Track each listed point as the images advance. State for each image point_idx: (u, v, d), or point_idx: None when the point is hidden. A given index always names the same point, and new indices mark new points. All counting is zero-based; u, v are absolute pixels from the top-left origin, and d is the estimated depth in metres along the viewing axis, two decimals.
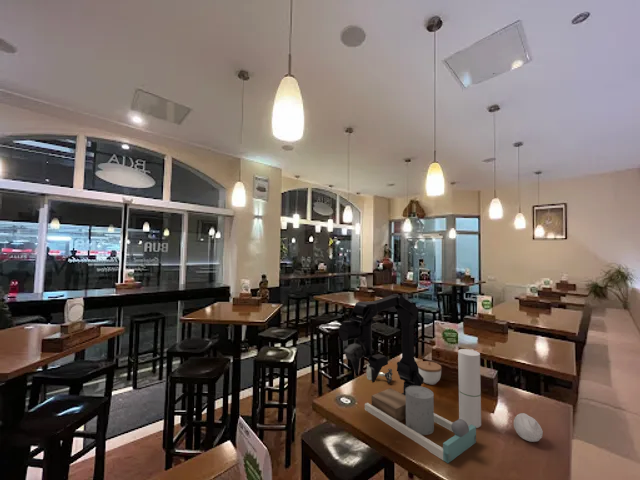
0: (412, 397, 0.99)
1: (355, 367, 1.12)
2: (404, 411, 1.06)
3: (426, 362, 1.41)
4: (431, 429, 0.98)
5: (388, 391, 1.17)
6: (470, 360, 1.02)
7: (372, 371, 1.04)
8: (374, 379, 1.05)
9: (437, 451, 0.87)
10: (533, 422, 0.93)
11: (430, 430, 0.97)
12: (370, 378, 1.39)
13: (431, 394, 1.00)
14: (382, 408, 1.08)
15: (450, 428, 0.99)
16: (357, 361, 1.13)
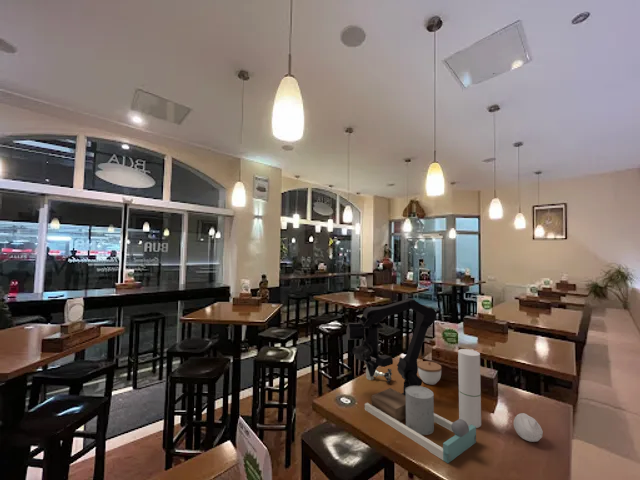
0: (412, 397, 0.99)
1: None
2: (404, 411, 1.06)
3: (426, 362, 1.41)
4: (431, 429, 0.98)
5: (388, 391, 1.17)
6: (470, 360, 1.02)
7: (371, 366, 1.19)
8: (372, 373, 1.20)
9: (437, 451, 0.87)
10: (533, 422, 0.93)
11: (430, 430, 0.97)
12: (369, 378, 1.39)
13: (431, 394, 1.00)
14: (382, 408, 1.08)
15: (450, 428, 0.99)
16: None
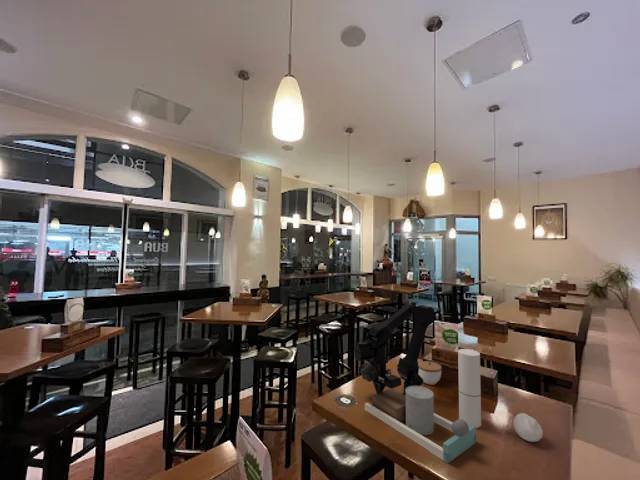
0: (412, 397, 0.99)
1: None
2: (405, 411, 1.06)
3: (426, 362, 1.41)
4: (431, 429, 0.98)
5: (389, 391, 1.17)
6: (470, 360, 1.02)
7: (378, 386, 1.16)
8: None
9: (437, 451, 0.87)
10: (533, 422, 0.93)
11: (430, 430, 0.97)
12: None
13: (431, 394, 1.00)
14: (383, 409, 1.08)
15: (450, 428, 0.99)
16: None
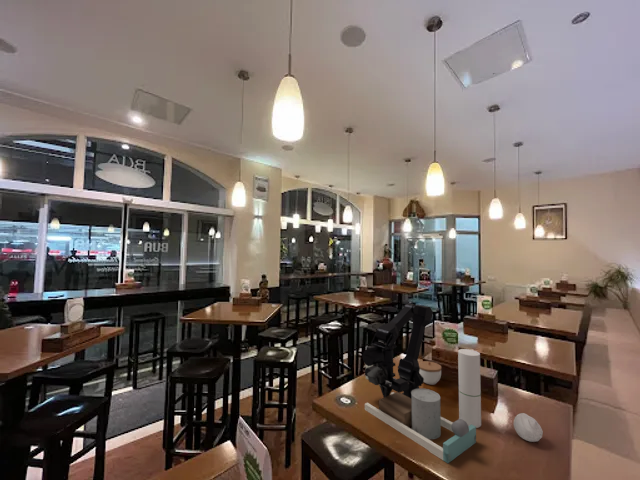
0: (418, 400, 0.97)
1: None
2: None
3: (426, 362, 1.41)
4: (438, 433, 0.95)
5: (396, 394, 1.14)
6: (470, 360, 1.02)
7: (385, 390, 1.13)
8: None
9: (437, 451, 0.87)
10: (533, 422, 0.93)
11: (437, 434, 0.95)
12: None
13: (438, 397, 0.98)
14: (390, 413, 1.05)
15: (450, 428, 0.99)
16: None
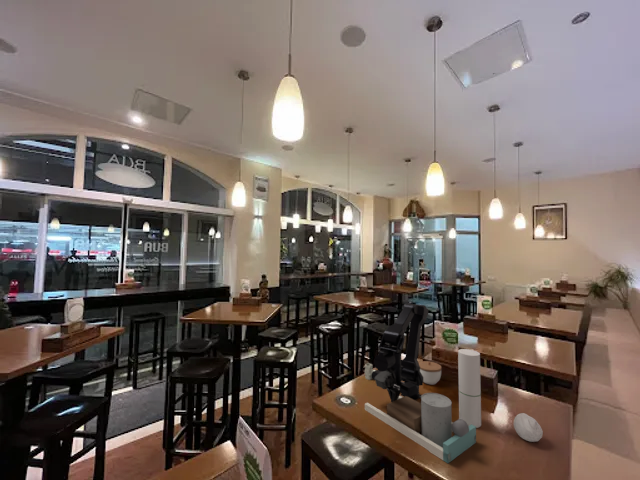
0: (428, 405, 0.93)
1: None
2: None
3: (426, 362, 1.41)
4: None
5: (404, 399, 1.10)
6: (470, 360, 1.02)
7: (393, 394, 1.09)
8: None
9: (437, 451, 0.87)
10: (533, 422, 0.93)
11: None
12: (368, 378, 1.39)
13: (449, 402, 0.95)
14: (399, 418, 1.02)
15: None
16: None
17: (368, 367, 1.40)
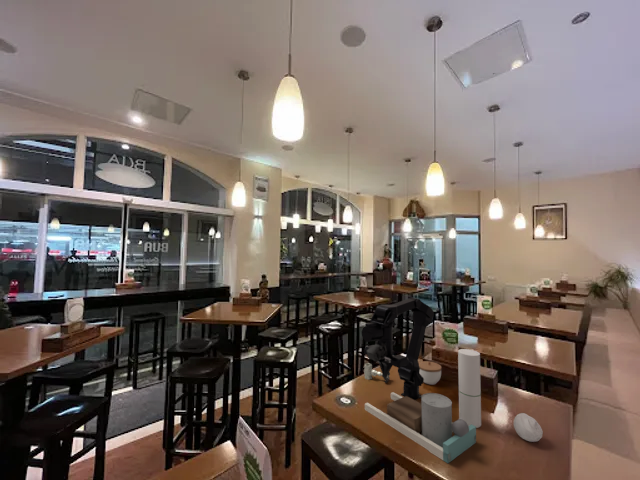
0: (429, 406, 0.93)
1: None
2: None
3: (426, 362, 1.41)
4: None
5: (404, 399, 1.10)
6: (470, 360, 1.02)
7: (384, 367, 1.13)
8: (386, 374, 1.14)
9: (437, 451, 0.87)
10: (533, 422, 0.93)
11: None
12: (368, 378, 1.40)
13: (449, 403, 0.95)
14: (399, 418, 1.02)
15: None
16: None
17: (367, 367, 1.40)
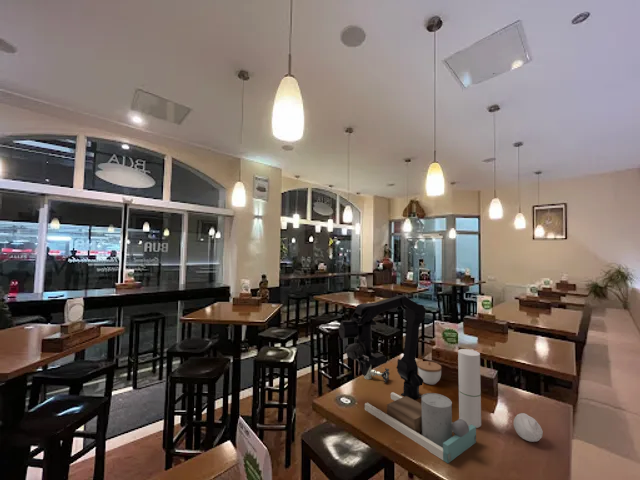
0: (429, 406, 0.93)
1: None
2: None
3: (426, 362, 1.41)
4: None
5: (404, 399, 1.10)
6: (470, 360, 1.02)
7: (363, 365, 1.14)
8: (365, 373, 1.15)
9: (437, 451, 0.87)
10: (533, 422, 0.93)
11: None
12: (367, 377, 1.40)
13: (449, 403, 0.95)
14: (399, 418, 1.02)
15: None
16: None
17: None
